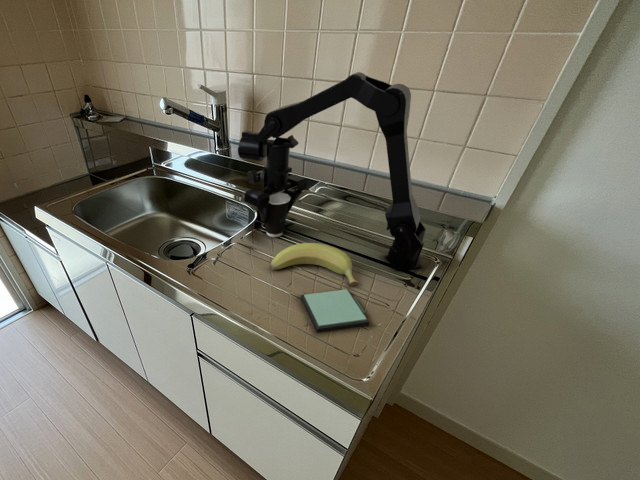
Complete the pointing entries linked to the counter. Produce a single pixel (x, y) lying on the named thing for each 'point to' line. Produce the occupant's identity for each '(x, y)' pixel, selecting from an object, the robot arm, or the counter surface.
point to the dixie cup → (277, 214)
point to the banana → (315, 258)
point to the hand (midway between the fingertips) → (275, 218)
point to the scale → (334, 311)
